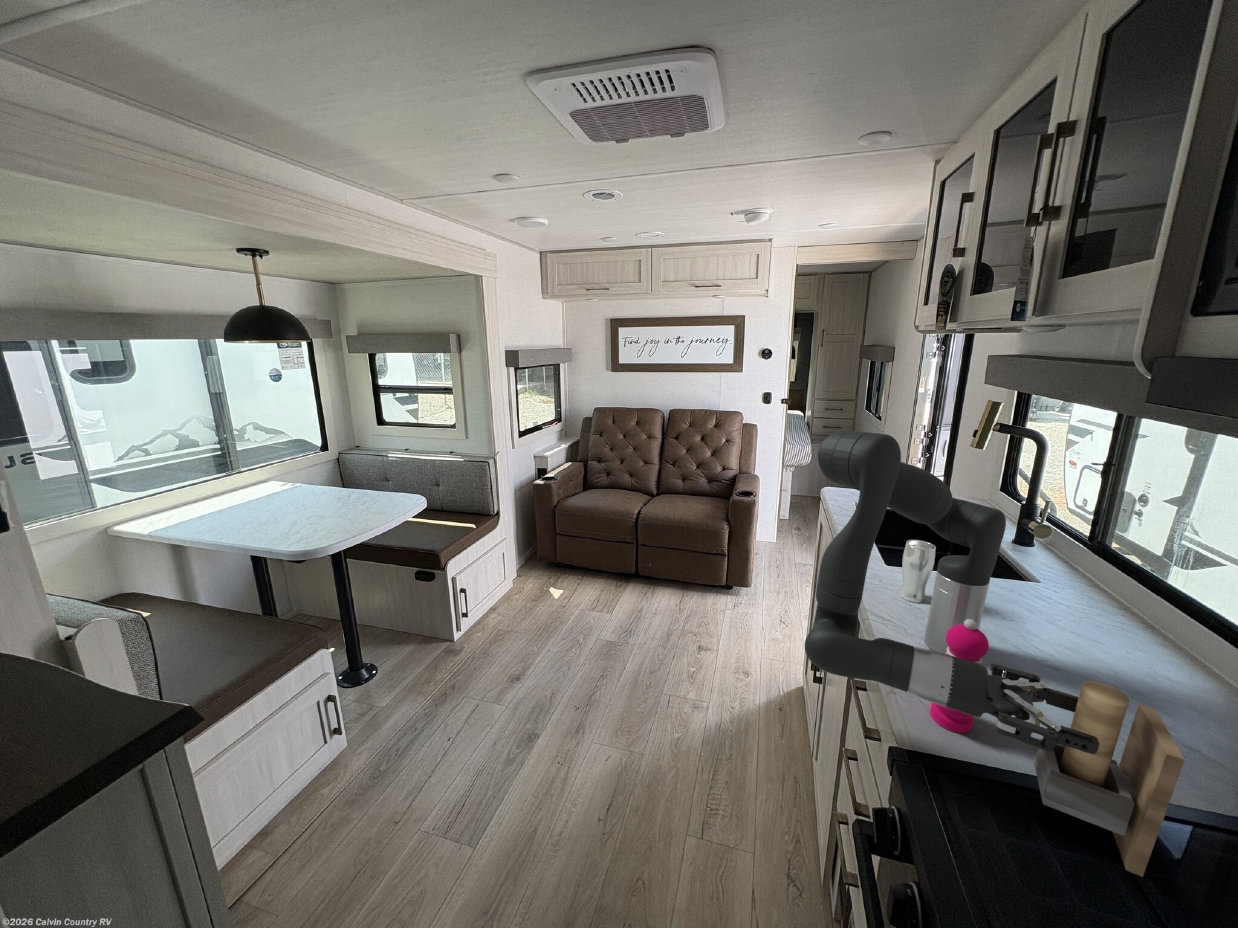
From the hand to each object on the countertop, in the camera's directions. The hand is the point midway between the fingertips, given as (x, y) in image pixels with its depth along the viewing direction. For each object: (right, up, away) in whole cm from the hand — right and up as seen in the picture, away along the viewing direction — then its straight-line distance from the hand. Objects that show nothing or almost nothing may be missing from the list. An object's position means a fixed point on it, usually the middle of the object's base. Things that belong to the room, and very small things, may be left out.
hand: (1089, 725), depth 65 cm
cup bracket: (+1, -15, +3) cm, 16 cm away
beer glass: (+15, 0, +64) cm, 66 cm away
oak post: (0, -10, +2) cm, 11 cm away
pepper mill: (-4, -11, +21) cm, 24 cm away
